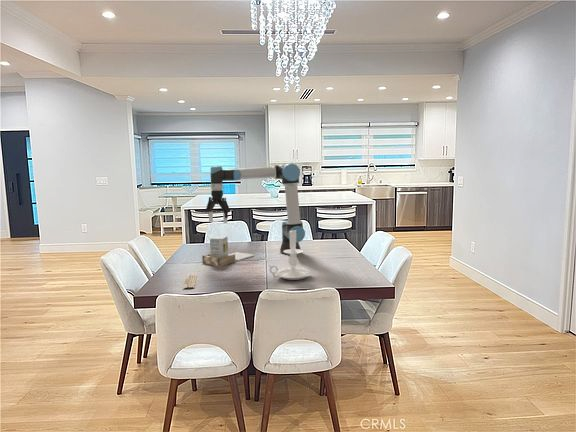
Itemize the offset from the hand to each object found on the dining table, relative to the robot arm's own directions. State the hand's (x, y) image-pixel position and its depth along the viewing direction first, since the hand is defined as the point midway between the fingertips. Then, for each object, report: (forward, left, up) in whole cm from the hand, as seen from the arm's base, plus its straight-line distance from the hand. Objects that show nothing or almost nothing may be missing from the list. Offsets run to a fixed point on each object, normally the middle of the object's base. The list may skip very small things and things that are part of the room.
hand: (218, 222), depth 261 cm
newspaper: (-20, +42, -28) cm, 54 cm away
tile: (0, -17, -27) cm, 32 cm away
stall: (0, 0, -27) cm, 27 cm away
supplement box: (0, 0, -27) cm, 27 cm away
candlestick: (-62, +5, -27) cm, 68 cm away
